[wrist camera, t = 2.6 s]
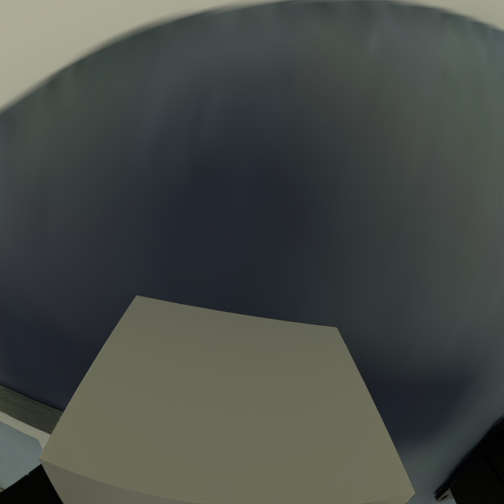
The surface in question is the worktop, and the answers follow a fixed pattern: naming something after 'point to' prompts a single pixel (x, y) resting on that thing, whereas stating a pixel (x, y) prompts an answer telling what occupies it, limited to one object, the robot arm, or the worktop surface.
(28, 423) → the case
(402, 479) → the block
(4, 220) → the worktop surface
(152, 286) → the worktop surface
